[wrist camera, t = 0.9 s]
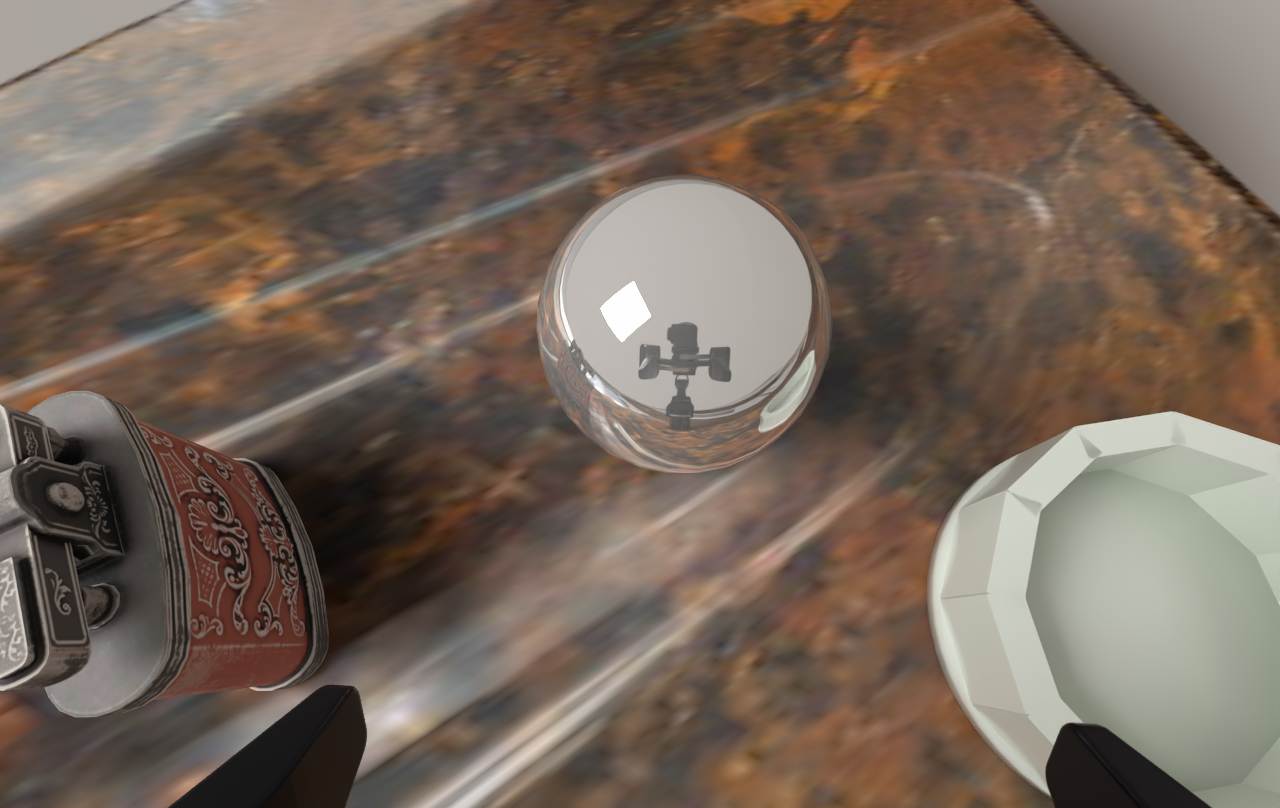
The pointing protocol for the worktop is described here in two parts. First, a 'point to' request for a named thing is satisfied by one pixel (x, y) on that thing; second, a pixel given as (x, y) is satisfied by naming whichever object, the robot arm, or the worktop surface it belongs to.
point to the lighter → (145, 564)
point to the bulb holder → (1121, 601)
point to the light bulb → (684, 323)
